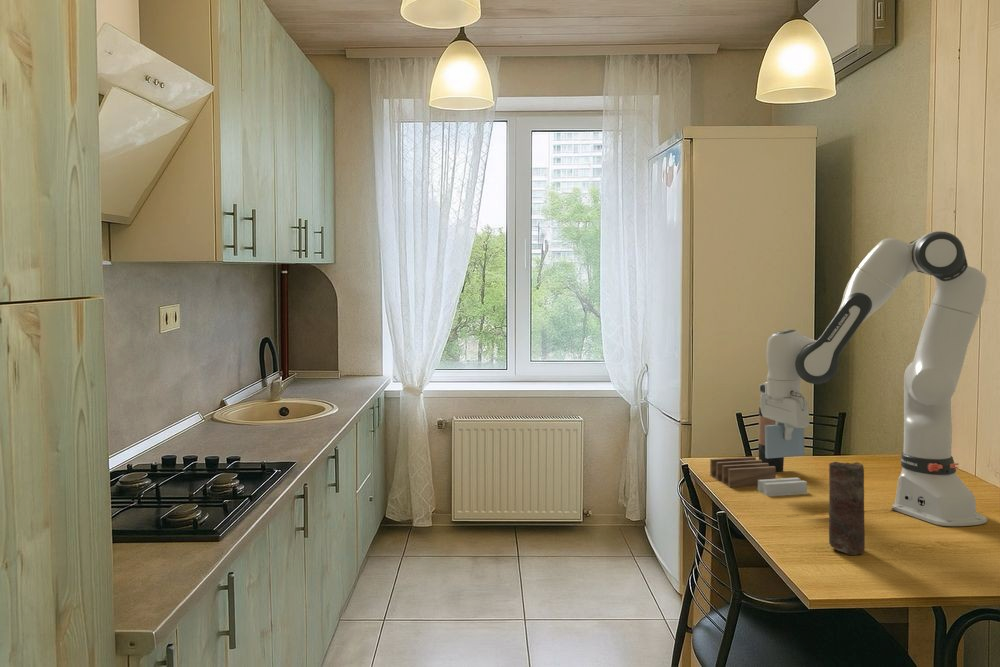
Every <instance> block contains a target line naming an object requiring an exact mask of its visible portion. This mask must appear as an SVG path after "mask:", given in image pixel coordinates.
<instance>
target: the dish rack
mask: <svg viewBox="0 0 1000 667" xmlns="http://www.w3.org/2000/svg"><path fill="white" fill-rule="evenodd" d="M709 460H710V461H709V462H710V463H709V464H710V466H709V467H710V468H709V469H710V471H709V473H710V474H709V477H712V478H714V479H715V480H717V481H719V482H720V483H722V484H724V485H726V486H727V487H729V488H731V489H732V488H743V487H744V488H745V487H758V480H764V479H777V478H776V473H777V472H776V467H775V466H769V464H768V463H762V460H759V459H757V458H756V457H755V456H744V457H742V456H741V457H721V458H710V459H709Z"/></svg>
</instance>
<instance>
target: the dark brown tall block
mask: <svg viewBox="0 0 1000 667" xmlns="http://www.w3.org/2000/svg"><path fill="white" fill-rule="evenodd" d="M828 467H829V468H828V472H829V476H828V479H829V480H828V482H829V484H828V487H829V488H828V489H829V490H828V493H829V494H828V495H829V496H828V498H829V500H828V502H829V503H828V509H829V510H828V512H829V513H828V541H829V543H828V544H829V545H830V546H831V548H834V549H835V550H837V551H839V552H841V553H844V554H845V555H849V556H850V555H851V556H856V555H859V554H863V553H864V552H865V549H866V546H865V542H866V541H865V536H866V535H865V534H866V533H865V468H864V465H863V464H862V463H860V462H858V461H856V462H851V463H850V462H845V463H844V462H838V461H832V462H830V463H829V464H828Z"/></svg>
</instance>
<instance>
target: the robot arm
mask: <svg viewBox="0 0 1000 667" xmlns="http://www.w3.org/2000/svg"><path fill="white" fill-rule="evenodd" d="M913 272H916V273H917V272H918V273H922V274H925V275H928V276H933V277H934V279H935V281H936V289H935V293H934V296H933V298H932V301H931V303H930V306H929V309H928V312H927V315H926V317H925V320H924V322H923V326H922V329H921V332H920V335H919V338H918V339H919V340H918V343H917V347H916V349H915V353H914V357H913V360H912V361H911V362H910V363H909V364H908V365H907V367H906V368H905V371H904V374H903V451H902V452H901V456H900V466H901V468H902V469H901V472H900V475H899V476H898V478H897V485H896V493H895V501H894V503H893V504H892V505H891V510H893V511H896V512H898V513H901V514H905V515H908V516H909V517H910V516H911V517H912V518H916V519H919V520H923V521H925V522H928V523H931V524H934V525H936V526H944V527H966V526H970V527H971V526H977V525H983V524H987V523H988V518H987V517H986V516H984V515H982V514H981V513H980V512H978V511H977V505H976V504H977V503H976V498H975V495H974V494H973V491H972V490H971V489H969V488H968V487H967V485H966V484H965V483H964V482H963V480H962V479H961V478H960V477H959V476H958V474H957V473H956V472H957V469H959V463H958V462H957V463H955V461H954V458H953V456H952V442H953V441H952V439H953V437H952V436H953V422H952V397H953V396H954V395H955V392H956V388H957V387H958V383H959V380H960V376H961V372H962V369H963V366H964V362H965V359H966V355H967V354H966V353H967V351H968V347H969V343H970V342H971V338H972V335H973V333H974V331H975V328H976V325H977V322H978V318H980V317H979V316H980V314H981V310H982V307H983V304H984V300H985V296H986V288H987V277H986V276H985V274H984V273H983V272H982V271H981V270H979V269H978V268H976V267H972V266H970V265H968V260H967V256H966V252H965V248H964V245H963V243H962V241H961V240H960V239H959V238H958V237H957V236H956V235H955V234H952V233H950V232H948V231H940V230H939V231H931V232H928V233H925V234H924V235H922V236H920V237H918V238H917V239H915V240H913V241H911V242H905V241H903V240H901V239H899V238H895V237H894V238H893V237H887V238H883V239H882V240H881V241H879V242H878V243H877V244H876V245H875V246H874V247H873V248H872V249H871V250H870V251H869V252H868V253H867V254H866V256H864V258H863V259H862V260H861V261H860V263H859V265H858V266H857V267H856V268H855V270H854V271H853V273H852V274H851V276H850V278H849V280H848V282H847V284H846V285H845V286H846V287H845V289H844V291H843V295H842V300H841V303H840V306H839V307H838V310H837V312H836V314H835V315H834V317H833V318H832V320H831V321H830V323H829V324H828V325H827V327H826V328H825V330H824V331H823V333H822V334H821V335H820V336H819V338H818V339H817V340H816V339H813V338H810V337H808V336H805V335H803V334H802V333H800V332H799V331H798V330H796V329H785V330H781V331H778V332H777V331H776V332H774V333H772V334H771V335H770V336H769V337H768V339H767V342H766V343H767V344H766V364H767V369H768V370H767V375H766V381H765V382H763V383H761V384H759V385H758V391H759V393H760V395H759V397H760V399H759V400H760V402H759V404H760V406H759V407H760V408H761V413H762V415H763V417H766V418H769V419H772V420H775V424H776V425H779V424H784V427H785V432H784V433H783V438H784V439H786V440H791V438H792V431H793V429H794V427H795V428H804V429H806V428H808V427H809V425H810V413H809V405H808V402H807V400H806V399H805V397H804V395H803V393H802V380H803V381H805V382H806V383H808V384H812V385H822V384H824V383H827V382H829V381H830V380H831V379H832V378H833V377H834V376H835V375H836V372H837V368H838V362H839V357H840V355H841V353H842V352H843V350H844V349H845V347H846V346H847V344H848V343H849V341H850V340H851V339H852V337H853V336H854V334H855V333H856V331H857V330H858V329H859V327H861V325H862V324H863V323H864V322H865V321H867V319H868V318H870V317H871V316H872V315H873V314H874V313H876V312H877V311H878V310H879V309H880V308H881V307H882V306H884V304H885V303H886V302H887V301H888V300H889V299H890V297H892V295H893V294H894V293H895V291H896V290H897V289H898V287H899V286H900V284H901V283H902V282H903V280H904V279H906V277H908V275H910V274H911V273H913Z"/></svg>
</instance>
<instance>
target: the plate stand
mask: <svg viewBox="0 0 1000 667" xmlns="http://www.w3.org/2000/svg"><path fill="white" fill-rule="evenodd" d="M756 491H758V492H759V493H761V494H763V495H765V496H767V497H780V496H781V497H782V496H795V495H796V496H797V495H809V492H808V481H805V480H801V478H799V477H797V476H796V477H785V478H783V477H781V478H776V479H764V480H758V486H757V488H756Z"/></svg>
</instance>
